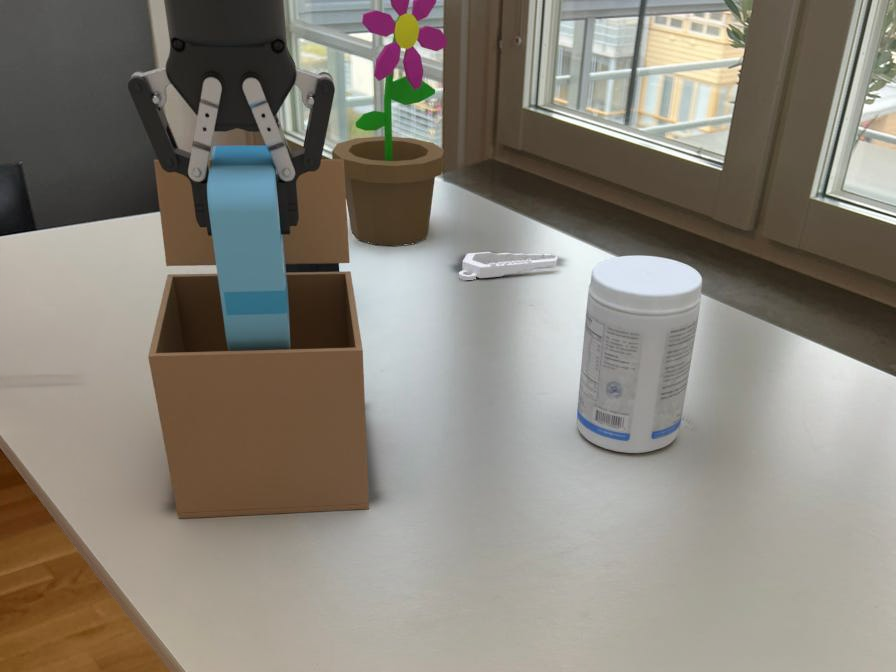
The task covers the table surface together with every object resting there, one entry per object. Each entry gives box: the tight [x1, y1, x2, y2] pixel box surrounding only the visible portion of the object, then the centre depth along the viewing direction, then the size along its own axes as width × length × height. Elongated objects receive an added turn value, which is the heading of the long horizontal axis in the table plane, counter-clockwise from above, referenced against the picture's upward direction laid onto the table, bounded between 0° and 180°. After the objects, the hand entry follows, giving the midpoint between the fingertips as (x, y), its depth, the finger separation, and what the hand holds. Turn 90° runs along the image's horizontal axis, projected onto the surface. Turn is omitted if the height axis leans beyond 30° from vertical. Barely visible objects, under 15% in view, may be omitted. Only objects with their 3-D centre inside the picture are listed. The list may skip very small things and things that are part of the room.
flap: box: [153, 159, 351, 267], centre depth 81 cm, size 15×8×1 cm
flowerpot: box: [331, 0, 448, 246], centre depth 123 cm, size 14×14×30 cm
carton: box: [147, 271, 370, 519], centre depth 81 cm, size 15×16×14 cm
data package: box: [207, 145, 290, 351], centre depth 74 cm, size 12×4×12 cm, turn 9°
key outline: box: [458, 251, 559, 281], centre depth 123 cm, size 13×5×2 cm, turn 110°
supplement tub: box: [576, 255, 703, 454], centre depth 87 cm, size 10×10×15 cm
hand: (249, 230), depth 73 cm, fingers closed on data package, 4 cm apart
